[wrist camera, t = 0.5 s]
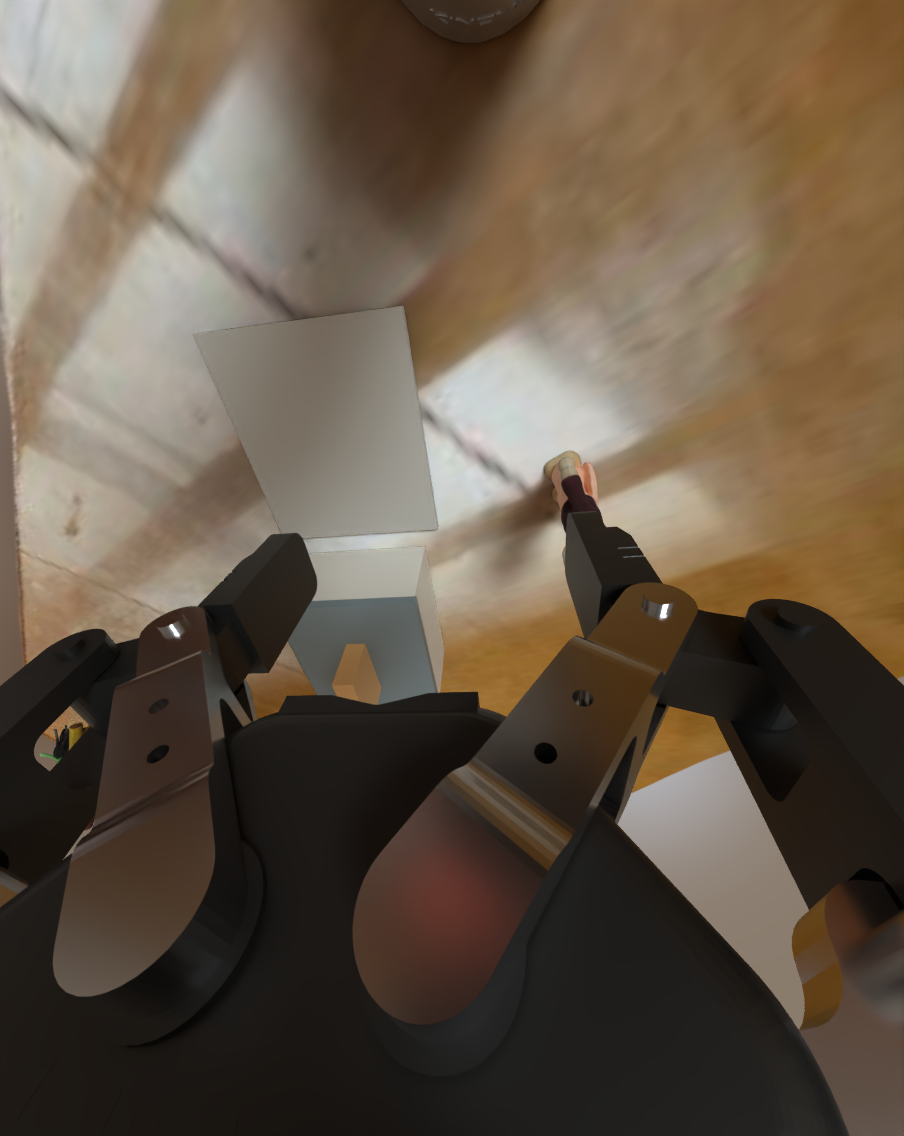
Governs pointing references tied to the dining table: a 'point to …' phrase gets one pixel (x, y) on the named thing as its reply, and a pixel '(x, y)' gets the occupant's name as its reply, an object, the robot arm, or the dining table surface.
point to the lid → (365, 649)
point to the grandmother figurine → (572, 485)
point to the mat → (329, 420)
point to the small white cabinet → (383, 585)
